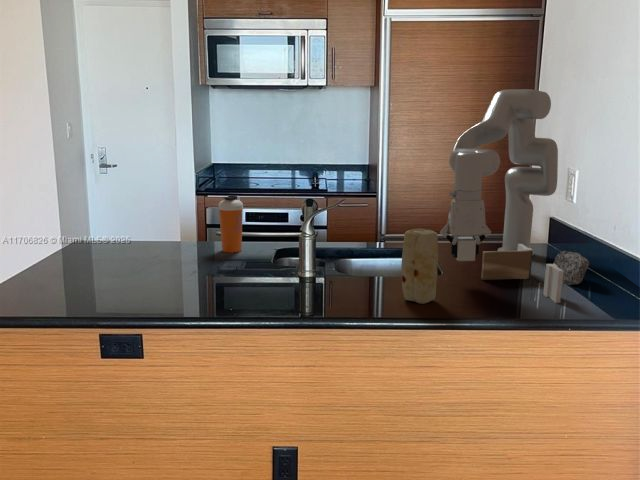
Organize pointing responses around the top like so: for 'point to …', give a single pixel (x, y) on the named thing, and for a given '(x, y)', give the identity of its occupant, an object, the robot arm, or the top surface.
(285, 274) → the top surface
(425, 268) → the food model
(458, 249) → the white stepped block
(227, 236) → the shaker bottle
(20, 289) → the top surface
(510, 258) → the door
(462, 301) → the top surface
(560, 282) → the door frame
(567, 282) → the rock
